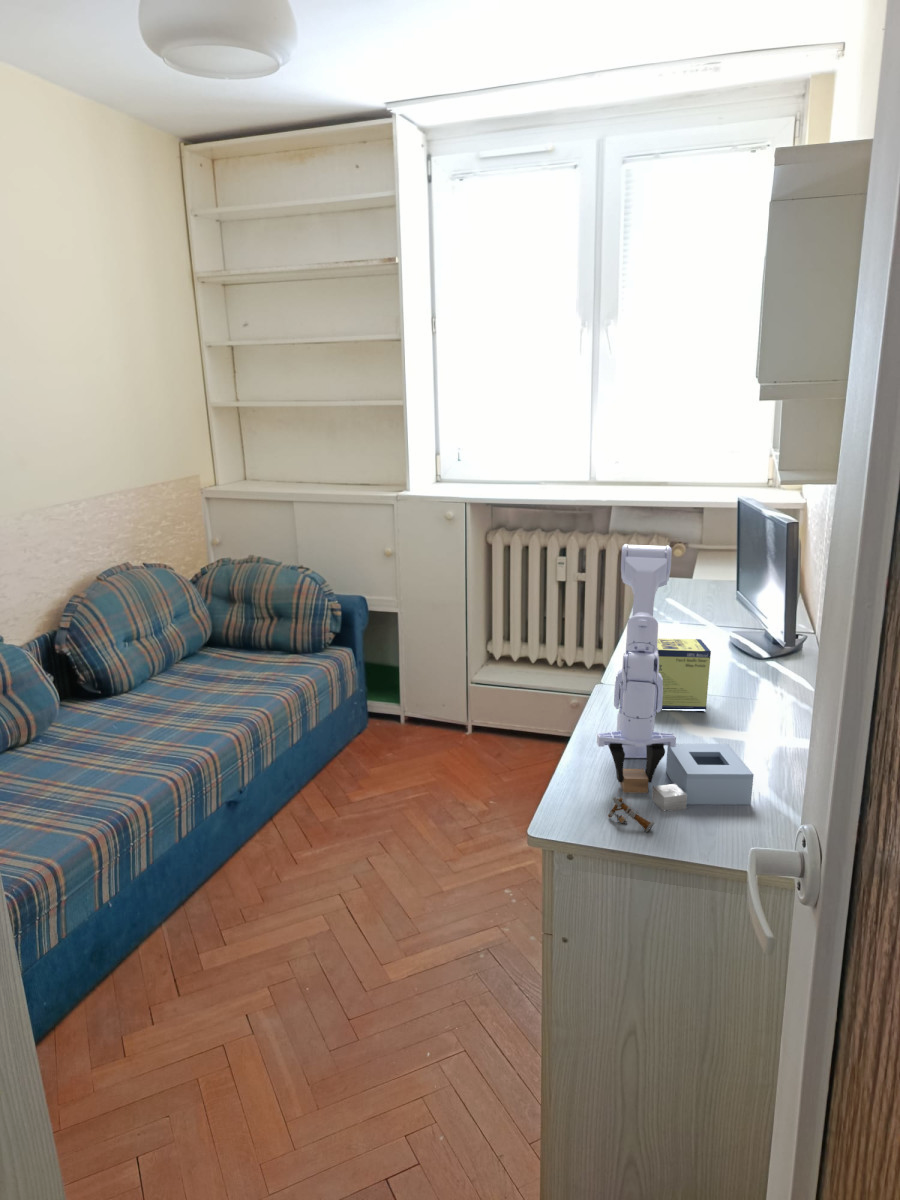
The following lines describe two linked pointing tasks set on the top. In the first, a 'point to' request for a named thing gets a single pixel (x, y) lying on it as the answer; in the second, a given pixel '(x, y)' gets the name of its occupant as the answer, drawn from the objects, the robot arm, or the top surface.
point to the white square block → (669, 797)
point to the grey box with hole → (710, 774)
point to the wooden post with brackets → (630, 812)
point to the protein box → (684, 673)
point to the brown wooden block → (634, 781)
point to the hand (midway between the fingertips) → (633, 780)
